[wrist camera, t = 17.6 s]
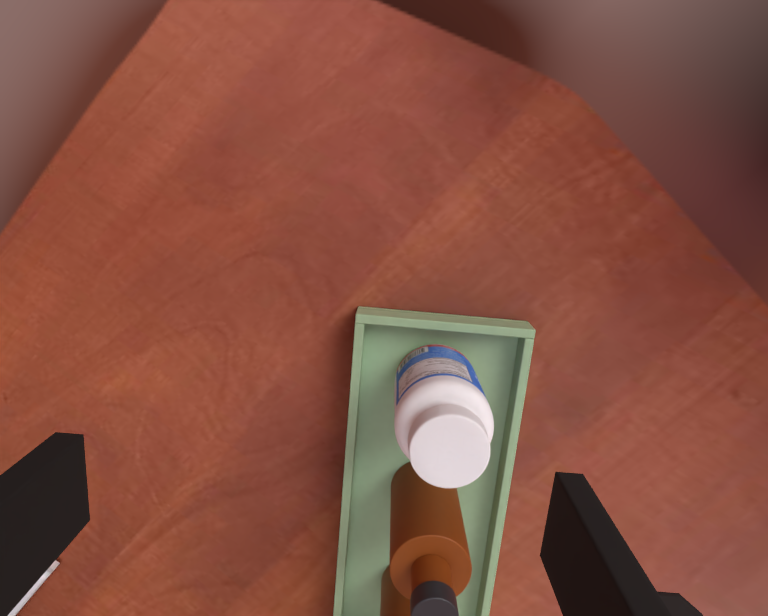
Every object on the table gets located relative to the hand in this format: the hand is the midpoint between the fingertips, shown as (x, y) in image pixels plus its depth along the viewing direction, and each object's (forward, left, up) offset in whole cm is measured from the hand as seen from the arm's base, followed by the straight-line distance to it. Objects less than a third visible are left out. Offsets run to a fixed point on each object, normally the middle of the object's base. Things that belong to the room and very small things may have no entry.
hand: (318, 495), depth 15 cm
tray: (+12, +5, -20) cm, 24 cm away
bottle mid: (+12, +5, -20) cm, 24 cm away
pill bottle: (+4, +5, -20) cm, 21 cm away
